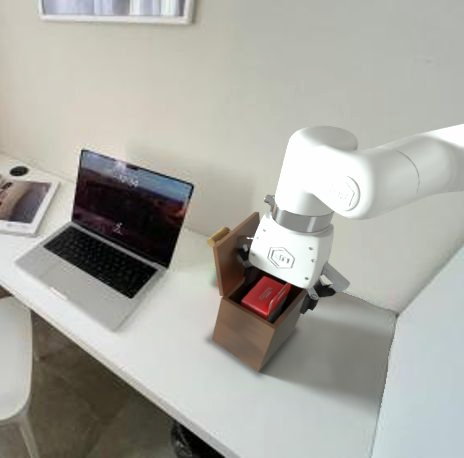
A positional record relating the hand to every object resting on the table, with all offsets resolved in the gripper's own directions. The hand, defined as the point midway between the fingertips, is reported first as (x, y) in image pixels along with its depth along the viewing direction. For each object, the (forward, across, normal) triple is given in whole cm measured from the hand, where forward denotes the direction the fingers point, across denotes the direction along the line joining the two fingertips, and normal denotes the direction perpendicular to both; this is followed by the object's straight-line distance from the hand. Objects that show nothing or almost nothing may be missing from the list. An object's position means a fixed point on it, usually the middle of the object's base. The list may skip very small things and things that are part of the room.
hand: (276, 294), depth 62 cm
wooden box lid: (-5, -7, 0) cm, 9 cm away
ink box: (+13, -2, 0) cm, 13 cm away
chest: (+14, -2, +1) cm, 14 cm away
